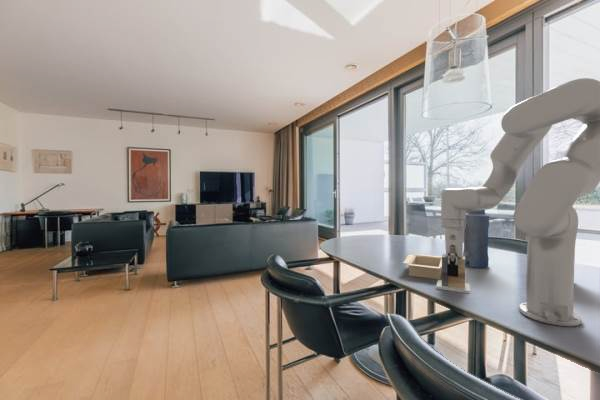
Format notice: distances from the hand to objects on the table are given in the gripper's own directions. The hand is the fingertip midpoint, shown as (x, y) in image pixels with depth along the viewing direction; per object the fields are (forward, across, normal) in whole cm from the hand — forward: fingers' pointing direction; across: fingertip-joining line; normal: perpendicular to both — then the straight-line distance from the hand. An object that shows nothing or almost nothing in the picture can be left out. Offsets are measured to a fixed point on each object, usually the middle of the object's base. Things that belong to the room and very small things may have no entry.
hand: (453, 272), depth 99 cm
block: (+4, 0, 0) cm, 5 cm away
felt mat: (+5, 0, 0) cm, 5 cm away
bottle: (+6, +35, -8) cm, 36 cm away
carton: (+5, +15, +10) cm, 19 cm away
